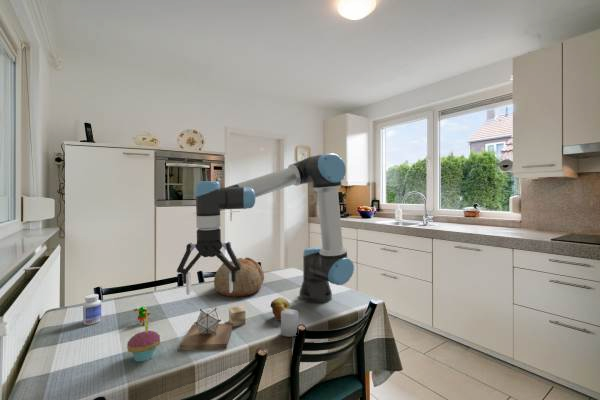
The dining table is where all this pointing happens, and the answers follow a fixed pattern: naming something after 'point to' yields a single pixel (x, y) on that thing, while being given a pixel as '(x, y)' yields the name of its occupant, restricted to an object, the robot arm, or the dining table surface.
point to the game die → (207, 321)
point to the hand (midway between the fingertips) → (210, 292)
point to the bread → (240, 278)
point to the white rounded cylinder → (289, 322)
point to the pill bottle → (92, 309)
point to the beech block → (237, 315)
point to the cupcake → (143, 344)
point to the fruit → (279, 306)
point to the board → (207, 338)
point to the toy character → (142, 314)
